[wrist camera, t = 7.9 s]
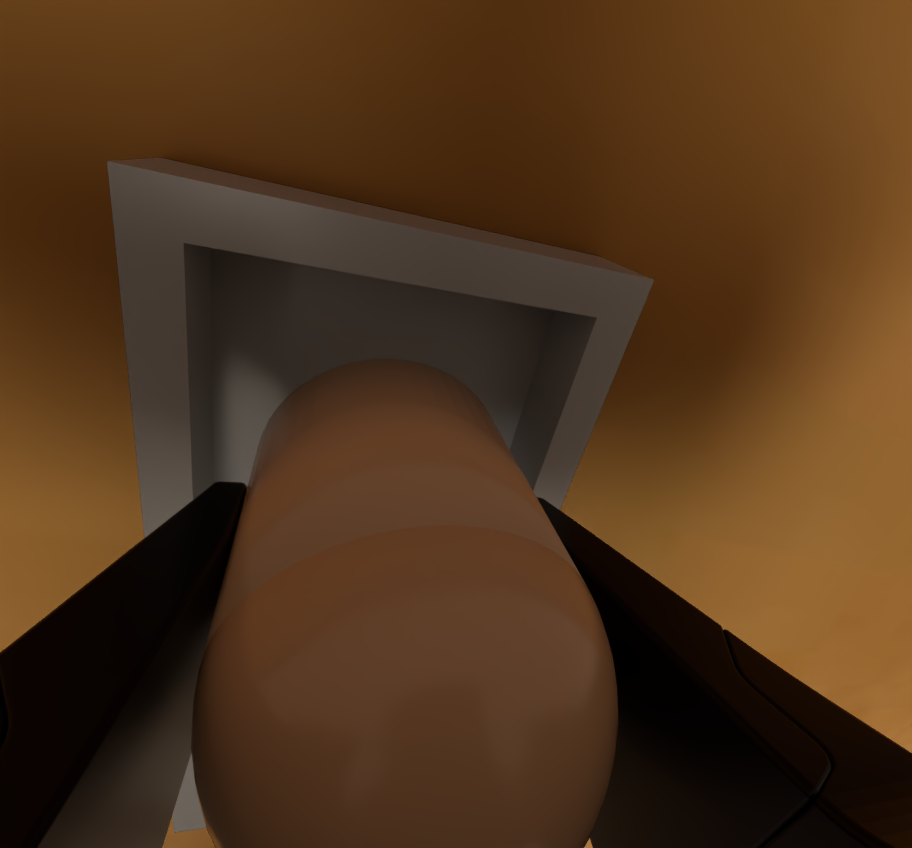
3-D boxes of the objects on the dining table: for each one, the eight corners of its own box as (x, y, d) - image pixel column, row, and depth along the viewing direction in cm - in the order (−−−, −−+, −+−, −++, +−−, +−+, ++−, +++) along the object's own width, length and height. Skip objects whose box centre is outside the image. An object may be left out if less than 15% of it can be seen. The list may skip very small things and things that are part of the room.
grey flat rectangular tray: (433, 731, 18) (443, 794, 16) (192, 756, 15) (173, 832, 14) (599, 256, 10) (654, 279, 8) (159, 157, 7) (106, 161, 6)
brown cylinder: (468, 559, 10) (602, 979, 5) (252, 557, 9) (138, 1111, 4) (527, 376, 8) (839, 756, 3) (260, 340, 7) (47, 883, 2)
